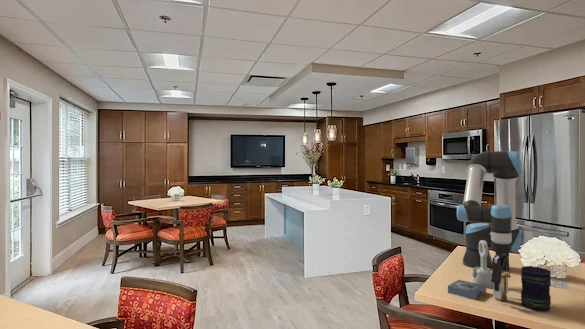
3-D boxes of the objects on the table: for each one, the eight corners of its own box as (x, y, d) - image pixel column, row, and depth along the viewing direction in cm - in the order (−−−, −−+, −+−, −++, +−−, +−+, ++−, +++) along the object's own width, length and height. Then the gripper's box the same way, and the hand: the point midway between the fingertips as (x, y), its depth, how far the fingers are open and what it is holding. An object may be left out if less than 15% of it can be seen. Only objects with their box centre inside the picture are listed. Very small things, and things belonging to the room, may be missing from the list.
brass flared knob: (495, 295, 155) (495, 268, 155) (511, 299, 151) (511, 271, 150) (490, 299, 151) (490, 271, 151) (506, 303, 147) (506, 274, 146)
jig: (458, 285, 167) (458, 279, 167) (486, 292, 159) (486, 286, 159) (447, 292, 159) (447, 285, 159) (476, 300, 150) (476, 293, 150)
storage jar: (543, 302, 147) (544, 267, 147) (555, 312, 138) (555, 274, 137) (517, 300, 149) (517, 265, 149) (526, 310, 140) (526, 272, 140)
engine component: (475, 286, 166) (499, 288, 164) (475, 243, 166) (499, 244, 164) (469, 279, 177) (491, 280, 175) (469, 238, 177) (491, 238, 175)
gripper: (499, 236, 161) (499, 286, 161) (482, 244, 146) (482, 299, 146) (518, 239, 155) (518, 290, 155) (503, 247, 140) (502, 304, 141)
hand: (500, 295), depth 151 cm, fingers open, 9 cm apart
